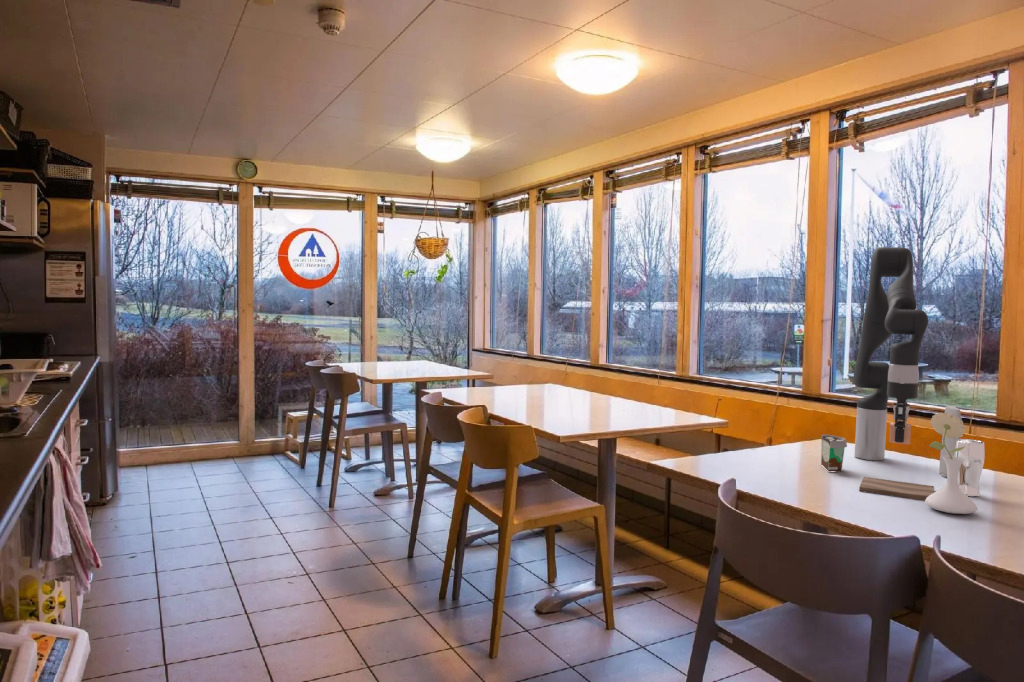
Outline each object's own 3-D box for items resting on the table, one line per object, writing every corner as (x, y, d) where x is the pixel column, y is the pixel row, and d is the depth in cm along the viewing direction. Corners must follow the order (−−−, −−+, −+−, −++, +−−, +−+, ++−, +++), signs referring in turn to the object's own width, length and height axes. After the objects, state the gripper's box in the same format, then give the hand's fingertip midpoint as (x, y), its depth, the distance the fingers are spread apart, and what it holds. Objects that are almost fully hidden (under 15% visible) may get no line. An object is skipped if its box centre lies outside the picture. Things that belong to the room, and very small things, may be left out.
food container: (850, 474, 216) (852, 442, 215) (829, 473, 217) (830, 441, 216) (840, 465, 228) (841, 435, 227) (820, 464, 229) (821, 434, 228)
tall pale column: (964, 481, 210) (969, 409, 209) (950, 480, 211) (954, 408, 210) (947, 472, 221) (951, 403, 220) (933, 472, 221) (937, 403, 220)
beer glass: (946, 491, 198) (949, 439, 197) (963, 489, 200) (966, 438, 200) (971, 498, 191) (974, 444, 190) (987, 496, 194) (991, 442, 193)
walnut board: (863, 480, 208) (863, 476, 208) (933, 490, 199) (934, 486, 199) (859, 491, 196) (859, 486, 196) (933, 501, 187) (934, 497, 187)
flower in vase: (988, 516, 175) (994, 417, 174) (952, 519, 172) (958, 418, 170) (942, 501, 187) (948, 409, 186) (908, 504, 184) (914, 410, 183)
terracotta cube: (889, 439, 200) (890, 422, 200) (909, 441, 198) (910, 424, 198) (888, 442, 196) (889, 424, 196) (909, 444, 194) (910, 426, 193)
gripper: (889, 377, 204) (885, 435, 205) (886, 381, 192) (883, 443, 193) (918, 379, 200) (915, 438, 201) (917, 383, 188) (914, 446, 189)
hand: (899, 440), depth 197 cm, fingers closed on terracotta cube, 5 cm apart
